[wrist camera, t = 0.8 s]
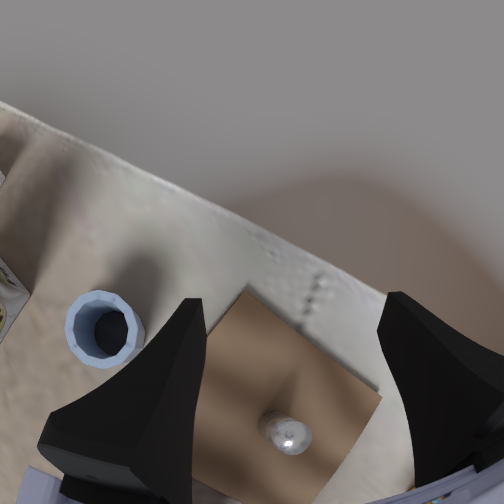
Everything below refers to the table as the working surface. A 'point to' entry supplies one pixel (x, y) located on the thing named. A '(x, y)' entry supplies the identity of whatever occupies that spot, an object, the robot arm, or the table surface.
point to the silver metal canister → (285, 432)
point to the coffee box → (10, 298)
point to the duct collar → (83, 327)
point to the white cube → (1, 178)
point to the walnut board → (272, 409)
